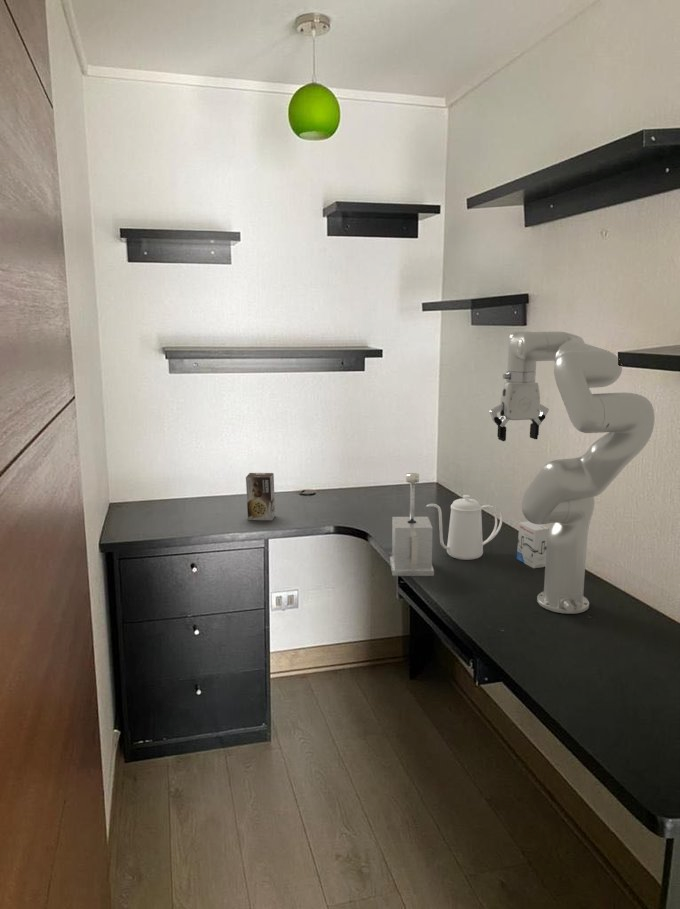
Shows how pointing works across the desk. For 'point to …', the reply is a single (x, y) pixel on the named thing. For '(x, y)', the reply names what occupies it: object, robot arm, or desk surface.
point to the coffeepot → (466, 528)
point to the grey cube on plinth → (411, 547)
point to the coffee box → (260, 496)
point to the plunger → (412, 492)
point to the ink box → (532, 544)
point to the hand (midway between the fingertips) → (517, 439)
